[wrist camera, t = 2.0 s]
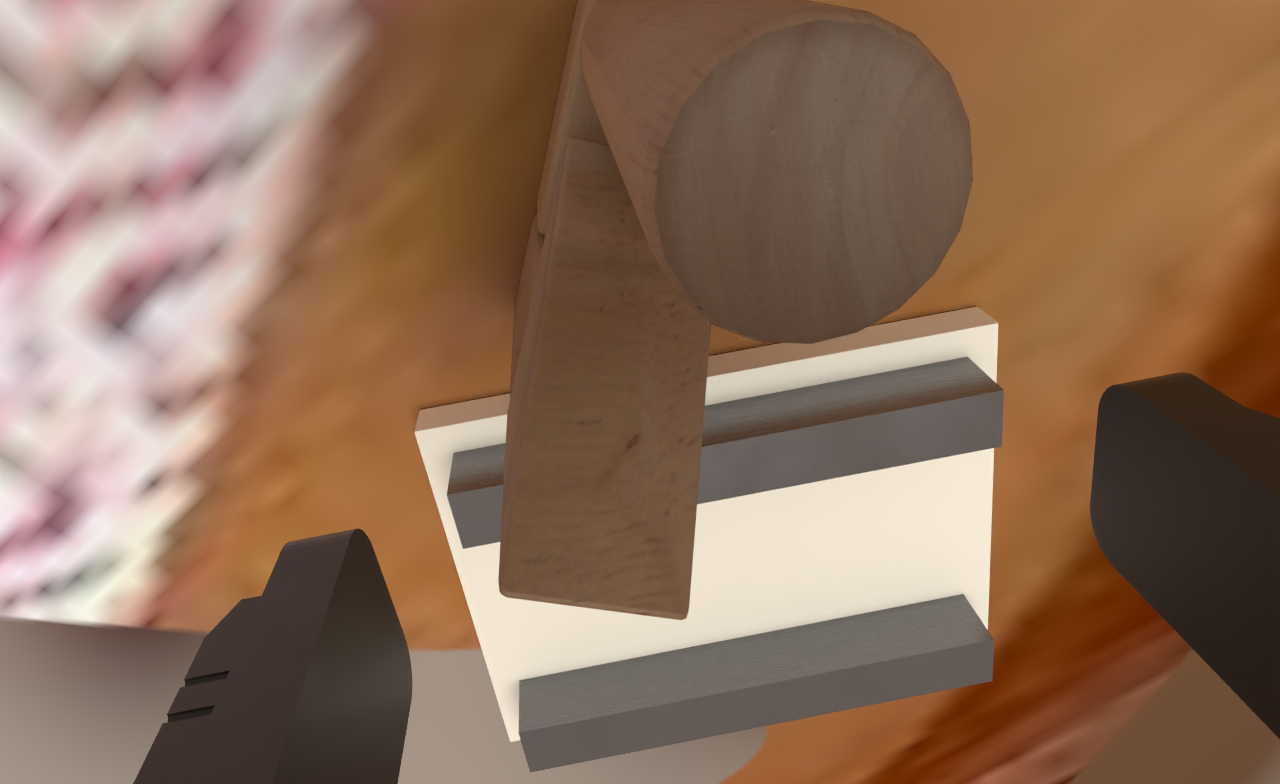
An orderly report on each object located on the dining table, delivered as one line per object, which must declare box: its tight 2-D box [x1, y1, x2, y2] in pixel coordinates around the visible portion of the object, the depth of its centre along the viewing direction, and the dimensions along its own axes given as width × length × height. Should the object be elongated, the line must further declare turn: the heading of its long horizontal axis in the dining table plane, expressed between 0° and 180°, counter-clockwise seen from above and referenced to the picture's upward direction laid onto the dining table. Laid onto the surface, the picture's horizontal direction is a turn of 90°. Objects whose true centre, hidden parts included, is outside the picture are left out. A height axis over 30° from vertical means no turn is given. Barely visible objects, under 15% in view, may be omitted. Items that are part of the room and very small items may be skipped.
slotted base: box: [414, 306, 1004, 772], centre depth 31 cm, size 14×19×4 cm
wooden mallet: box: [498, 0, 973, 620], centre depth 19 cm, size 4×11×18 cm, turn 166°
